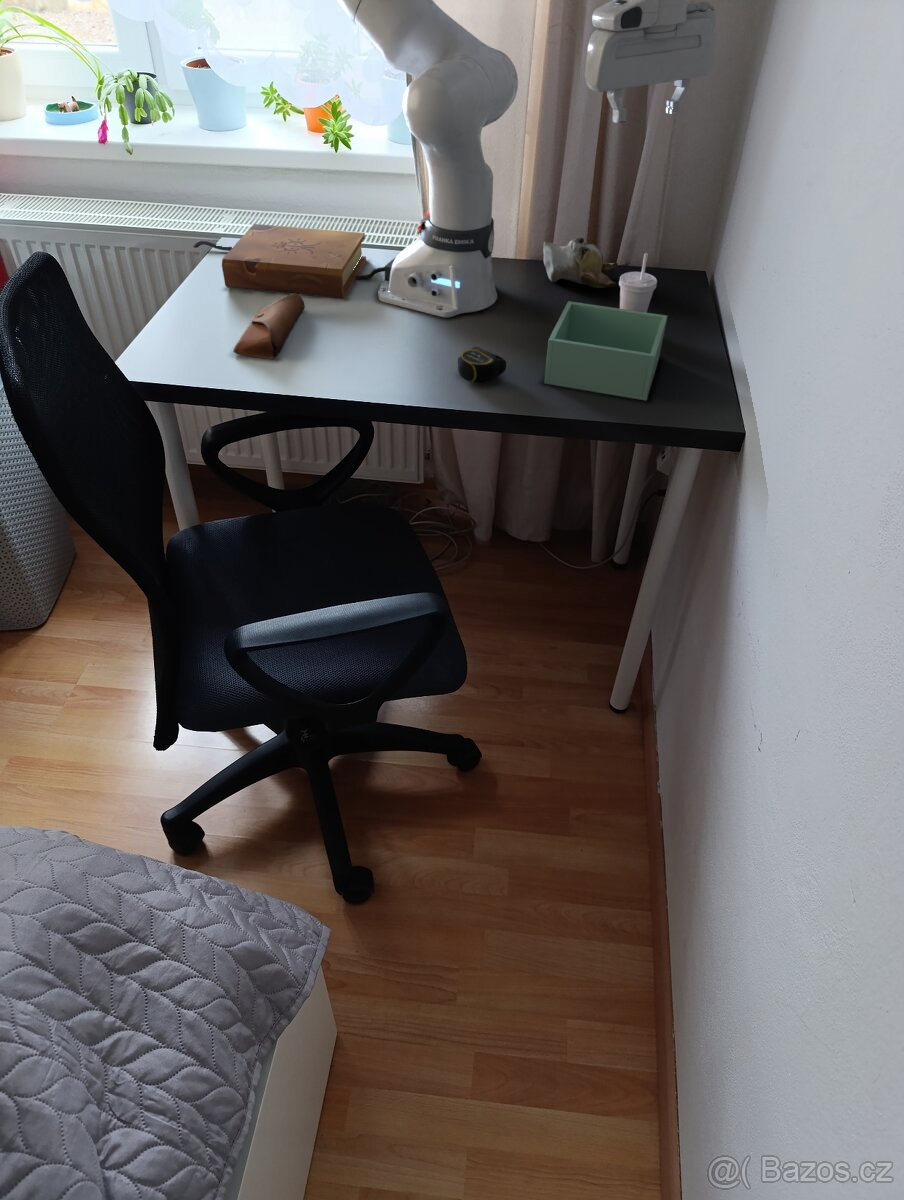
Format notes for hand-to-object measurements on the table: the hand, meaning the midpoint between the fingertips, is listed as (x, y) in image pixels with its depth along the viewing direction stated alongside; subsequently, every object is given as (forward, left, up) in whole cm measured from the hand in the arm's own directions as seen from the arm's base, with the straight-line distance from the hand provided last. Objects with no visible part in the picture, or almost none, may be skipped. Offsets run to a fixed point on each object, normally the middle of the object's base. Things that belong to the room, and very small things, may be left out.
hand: (646, 117), depth 128 cm
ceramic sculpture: (-10, +15, -33) cm, 38 cm away
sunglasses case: (-57, -24, -33) cm, 70 cm away
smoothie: (+3, -3, -33) cm, 34 cm away
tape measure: (-18, -26, -33) cm, 46 cm away
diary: (-63, 0, -33) cm, 71 cm away
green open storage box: (+1, -18, -33) cm, 38 cm away
